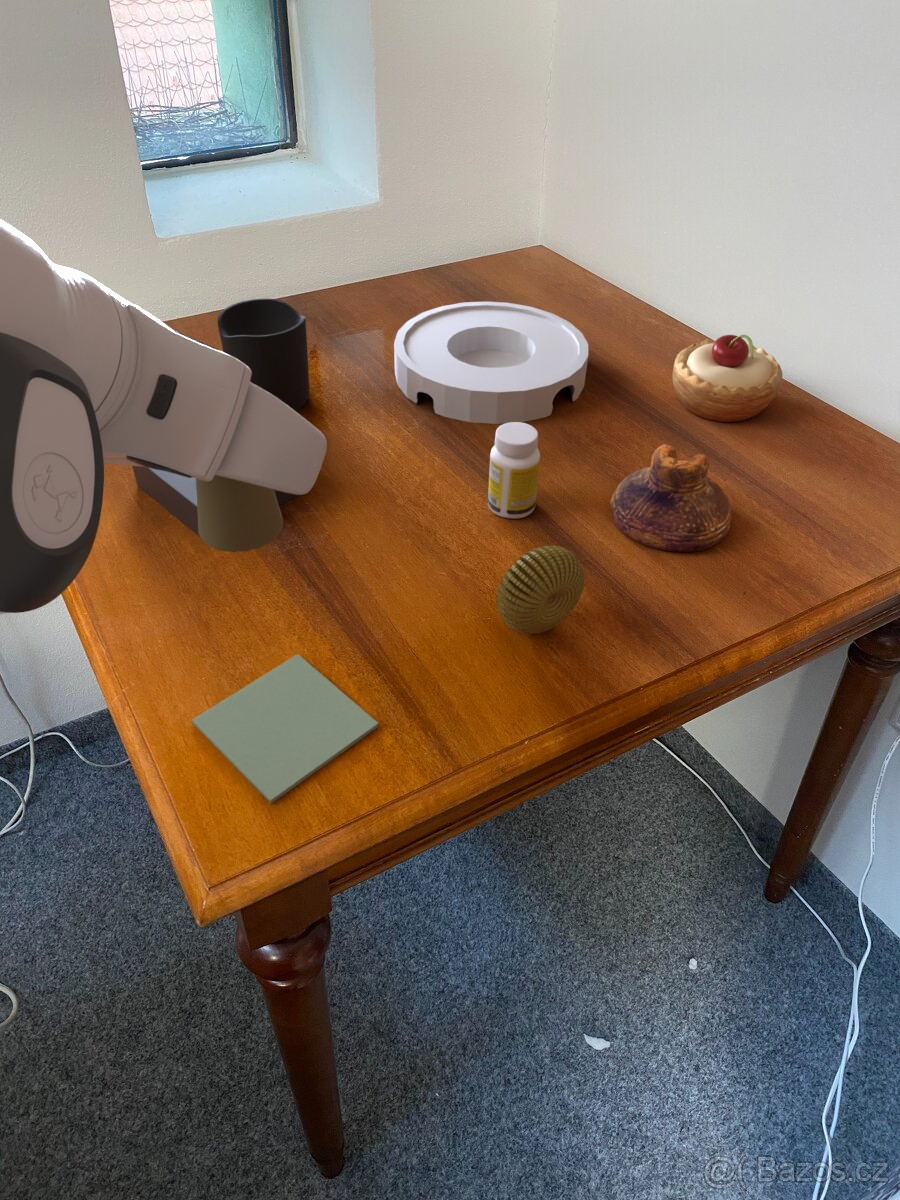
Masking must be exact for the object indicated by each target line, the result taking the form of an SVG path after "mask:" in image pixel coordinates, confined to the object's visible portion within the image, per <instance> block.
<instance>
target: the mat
mask: <svg viewBox="0 0 900 1200" xmlns="http://www.w3.org/2000/svg"><path fill="white" fill-rule="evenodd" d="M191 723H192V725H193V726H194V727H196V728H197V729H198V731H199V732H201V734H202V735H203V736H204V737H205V738H206V739H207V740H208V741H209V742H210V743H211V744H212V745H213V747H215V748H216V749H217V750H218V751H219V752H220V753H221V754H222V755H223V756H224V757H225V758H226V759H227V761H229V762H230V764H231V765H233V766H234V768H235V769H236V770H238V772H239V773H240V774H241V775H242V776H243V777H244V778H245V779H246V780H247V781H248V782H249V783H250V784H251V785H252V786H253V787H254V788H255V789H256V790H257V791H258V792H259V794H261V795H262V796H263V797H264V799H266V800H267V801H268V802H269V804H273V803H274V802H276V801H277V800H279V799H280V798H282V797H283V796H284V795H285V794H287V793H288V792H290V791H291V790H292V789H294V788H295V787H296V786H298V785H300V784H301V783H303V782H304V781H305V780H306V779H308V778H309V777H310V776H312V775H313V774H315V773H316V772H317V771H319V770H320V769H321V768H323V767H325V766H327V764H329V763H330V762H331V761H333V760H335V758H338V756H340V755H341V754H343V753H344V752H345V751H346V750H348V749H349V748H351V747H352V746H354V745H355V744H357V742H359V741H361V740H362V739H363V738H364V737H366V736H367V735H369V734H370V733H372V732H373V731H375V730H376V729H377V728H378V727H379V726H380V725H379V722H378V721H377V720H376V719H374V718H373V716H371V715H370V714H369V713H368V712H366V711H365V710H364V709H363V708H362V707H361V706H360V705H358V704H357V703H356V702H354V700H352V699H351V698H350V697H349V696H347V695H346V694H345V693H344V692H343V691H342V690H340V689H339V688H338V687H337V686H336V685H335V684H334V683H332V682H331V681H330V680H329V679H328V678H327V677H325V676H324V675H323V674H322V673H321V672H319V671H318V669H316V668H315V667H314V666H313V665H311V664H310V663H309V662H308V661H307V660H305V659H304V658H303V657H302V656H301V655H300V654H298V653H297V654H295V655H294V656H292V657H289V659H287V660H286V661H284V662H282V663H281V664H279V665H277V666H276V667H274V668H273V669H271V670H269V671H268V672H266V673H265V674H263V675H262V676H260V677H259V678H257V679H255V680H253V681H251V682H250V683H249V684H247V685H245V686H244V687H242V688H240V689H239V690H237V691H236V692H234V693H232V694H231V695H229V696H227V697H226V698H225V699H223V700H221V701H219V702H218V703H216V704H215V705H213V706H212V707H210V708H208V709H207V710H205V711H204V712H202V713H200V714H199V715H197V716H196V717H194V718H192V719H191Z"/></svg>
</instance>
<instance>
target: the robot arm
mask: <svg viewBox="0 0 900 1200" xmlns="http://www.w3.org/2000/svg"><path fill="white" fill-rule="evenodd" d="M251 374H252V371H251V369H250V368H249V367H248V366H247V365H246V364H244V363H243V362H241V361H240V360H238V359H237V358H235V357H233V356H231V355H228V354H226V353H224V352H223V350H220V349H219V348H216V347H214V346H211V345H209V344H206V343H204V342H201V341H200V340H197V339H194V338H193V337H191V336H188V335H186V334H183V333H181V332H179V331H177V330H175V329H172V327H170V326H169V325H167V324H166V323H165V322H163V321H162V320H160V319H159V318H157V317H156V316H155V315H153V314H151V313H150V312H148V311H147V310H146V309H143V308H142V307H140V306H138V305H136V304H135V303H132V302H130V301H129V300H127V299H126V298H124V297H122V296H120V295H119V294H118V293H116V292H114V291H113V290H111V289H110V288H108V287H106V286H105V285H104V284H102V283H101V282H99V281H97V280H96V279H94V278H93V277H91V276H90V275H88V274H86V273H84V272H82V271H81V270H80V271H79V270H77V269H74V268H72V267H68V266H66V265H65V266H64V265H59V264H56V263H54V262H52V261H51V259H49V257H48V256H47V254H45V252H44V251H43V250H42V249H41V248H40V247H39V245H37V244H36V242H34V240H32V238H30V237H28V236H27V235H26V234H24V233H23V232H21V231H20V230H18V229H17V228H16V227H13V226H12V225H11V224H9V223H7V222H6V221H4V220H2V219H1V218H0V615H4V614H18V613H19V614H20V613H26V612H31V611H35V610H37V609H40V608H42V607H44V606H46V605H48V604H49V603H51V602H53V601H54V600H55V599H57V598H58V597H59V596H60V595H62V594H63V593H64V592H65V591H66V590H67V589H68V587H69V586H70V585H72V583H73V582H74V581H75V580H76V578H77V577H78V575H79V573H80V572H81V570H82V569H83V567H84V566H85V565H86V562H87V560H88V559H89V556H90V554H91V551H92V550H93V547H94V543H95V540H96V538H97V534H98V530H99V526H100V520H101V515H102V507H103V499H104V489H105V488H104V487H105V465H114V466H115V465H116V466H123V467H132V466H144V467H148V468H152V469H157V470H162V471H166V472H170V473H174V474H178V475H181V476H184V477H187V478H191V477H193V478H196V479H199V480H202V481H204V482H209V481H211V480H213V478H214V476H215V475H218V476H221V477H225V478H229V479H233V480H237V481H241V482H245V483H249V484H253V485H257V486H261V487H265V488H269V489H273V490H277V491H281V492H285V493H290V494H295V495H298V496H302V495H303V496H304V495H306V494H308V493H310V491H312V488H313V487H314V486H315V484H316V481H317V479H318V476H319V474H320V472H321V469H322V466H323V463H324V460H325V457H326V455H327V448H328V441H327V438H326V437H325V434H324V433H323V432H322V431H321V430H320V429H319V428H317V427H316V426H315V425H314V424H312V423H311V422H310V421H308V419H306V418H305V417H303V415H301V414H300V413H299V412H297V410H296V411H295V410H293V409H292V408H291V407H289V406H288V405H287V404H285V403H284V402H282V401H281V400H280V399H278V398H277V397H275V396H274V395H272V394H271V393H269V392H267V391H266V390H264V389H262V388H260V387H259V386H257V385H255V384H253V383H251V382H250V379H251Z"/></svg>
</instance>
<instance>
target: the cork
mask: <svg viewBox="0 0 900 1200" xmlns="http://www.w3.org/2000/svg"><path fill="white" fill-rule="evenodd" d="M196 491H197V511H198V531H199V535H200V537H201V538H200V537H199V538H200V540H201V541H202V542H203V543H205V545H206V546H208V547H209V548H211V549H215V550H217V551H220V552H228V553H242V552H250V551H253V550H257V549H260V548H262V547H264V546H266V545H268V544H270V543H272V542H273V541H274V540H275V539H276V538H278V536H279V535H280V533H281V531H282V530H283V528H284V519H283V515H282V513H281V512H282V511H281V509H280V505H278V501H277V498H276V495H275V491H274V490H273V489H269V488H265V487H261V486H257V485H253V484H249V483H245V482H241V481H237V480H233V479H229V478H225V477H221V476H218V475H215V476H214V478H213V480H211V481H209V482H204V481H202V480H199V479H196Z"/></svg>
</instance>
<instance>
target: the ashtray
mask: <svg viewBox="0 0 900 1200" xmlns="http://www.w3.org/2000/svg"><path fill="white" fill-rule="evenodd" d="M393 352H394V353H393V354H394V355H393V356H394V375H395V380H396V384H397V386H398V388H399V389H400V390H401V392H402V393H403V394H404V396H405V397H406V398H407V399H409V400H410V401H412V402H413V403H414V404H416V405H417V403H418V399H419V394H418V393H424V394H426V395H429V396H430V397H431V398H432V401H433V410H434V414H436V415H439V416H442V417H443V418H448V419H453V420H458V421H462V422H466V423H476V424H489V425H503V424H506V423H510V422H521V423H527V422H530V421H534V420H538V419H543V418H547V417H550V416H551V415H552V412H553V410H554V405H553V401H554V398H555V397H556V396H557V394H559V392H560V391H561V390H562V389H564V388H566V387H569V392H570V394H571V399H572V402H575V401H576V400H578V399H579V396H580V395H581V393H582V391H583V389H584V387H585V384H586V376H587V369H588V360H589V343H588V341H587V339H586V338H585V335H584V334H583V332H582V331H581V330H580V329H578V327H575V325H573V324H572V323H571V322H570V321H568V320H566V319H565V318H562V317H560V316H558V315H556V314H554V313H553V312H549V311H546V310H543V309H539V308H536V307H533V306H529V305H523V304H517V303H512V302H501V301H486V300H485V301H468V302H465V301H464V302H457V303H453V304H446V305H442V306H438V307H435V308H431V309H429V310H426V311H422V312H421V313H419V314H417V315H415V316H413V317H412V318H410V319H409V320H407V321H406V322H404V324H403V325H402V326H401V327H400V328H399V329H398V330H397V333H396V336H395V338H394V342H393Z"/></svg>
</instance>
